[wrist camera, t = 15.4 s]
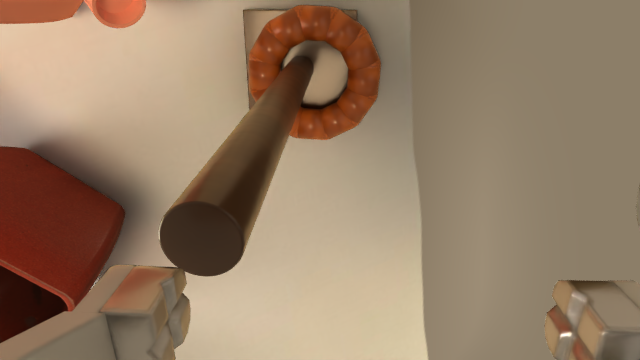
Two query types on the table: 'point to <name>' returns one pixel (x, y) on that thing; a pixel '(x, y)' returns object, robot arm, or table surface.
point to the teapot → (71, 11)
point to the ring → (338, 34)
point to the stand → (249, 156)
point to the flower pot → (48, 239)
